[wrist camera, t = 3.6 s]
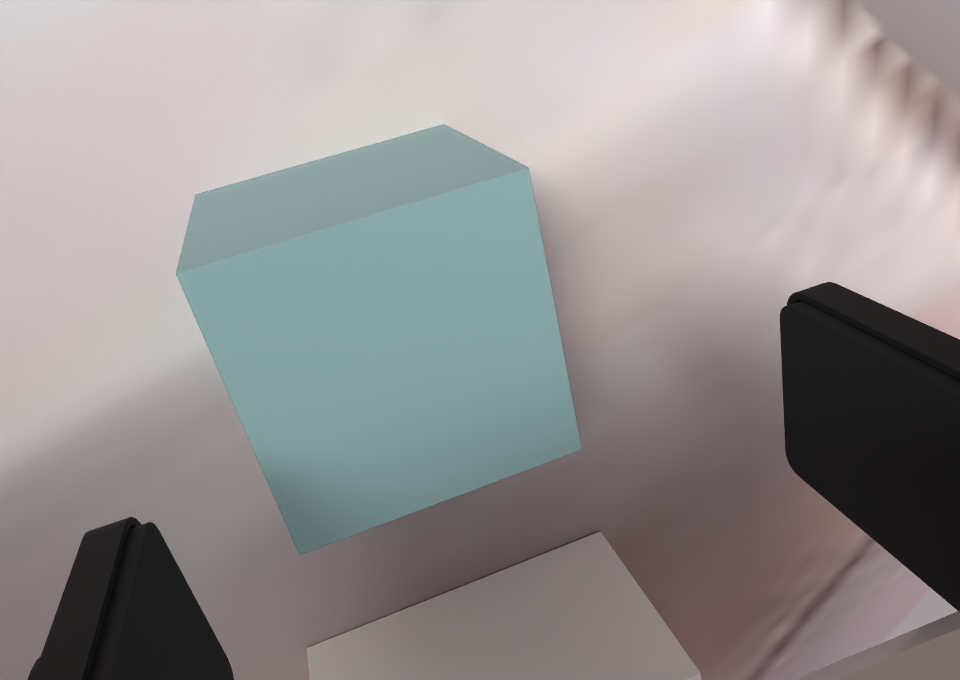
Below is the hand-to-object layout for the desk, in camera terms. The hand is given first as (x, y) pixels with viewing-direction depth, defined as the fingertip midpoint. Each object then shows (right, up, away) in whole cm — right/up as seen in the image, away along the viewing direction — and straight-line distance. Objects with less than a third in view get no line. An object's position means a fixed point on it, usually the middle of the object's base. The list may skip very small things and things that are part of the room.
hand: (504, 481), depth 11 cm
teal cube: (-3, +4, +8) cm, 10 cm away
